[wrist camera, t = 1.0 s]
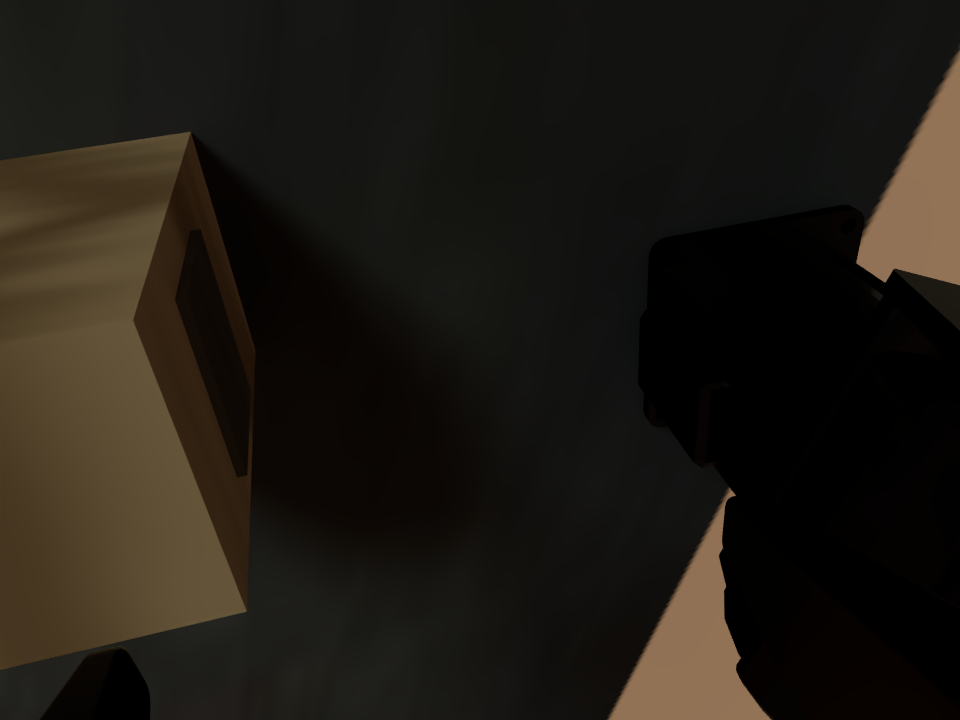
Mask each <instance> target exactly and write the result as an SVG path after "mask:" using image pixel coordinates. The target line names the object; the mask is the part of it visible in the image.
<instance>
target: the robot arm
mask: <svg viewBox="0 0 960 720" xmlns="http://www.w3.org/2000/svg"><path fill="white" fill-rule="evenodd" d="M846 219H848V221H847V223H846V225H845V226H844V227H842V228H840V227H841V225H842V223H843V222H844V221H845V220H846ZM863 226H864V216H863V214H862V212H860V211H858V210H857V209H855V208H853V207H851V206H850V205H840V206H834V207H829V208H823V209H818V210H813V211H807V212H802V213H796V214H791V215H785V216H780V217H775V218H769V219H764V220H758V221H753V222H747V223H742V224H737V225H731V226H726V227H720V228H715V229H709V230H704V231H699V232H693V233H688V234H682V235H677V236H671V237H666V238H663V239H661V240H659V241H658V242H656V243H655V244H654V245H653V247H652V248H651V250H650V254H649V266H648V295H647V310H645V311H644V313H643V315H642V316H641V318H640V336H639V370H638V384H639V386H640V388H641V389H642V391H643V392H644V409H643V411H644V415H645V416H646V418H647V419H648V421H649V422H650V423H651V424H652V425H653V426H656V427H663V426H668V427H669V429H670V430H671V431H672V433H673V434H674V436H675V437H676V439H677V440H678V441H679V443H680V444H681V446H682V447H683V448H684V450H685V451H686V453H687V454H688V455H689V457H690V458H691V460H692V461H693V462H694V463H696V464H697V465H699V466H700V467H706V466H711V465H714V467H715V468H716V469H717V471H718V472H719V473H720V475H721V476H722V477H723V479H724V480H725V482H726V483H727V484H728V486H729V487H730V488H731V490H732V491H733V492H734V494H735V495H736V496H733V497H731V498H729V499H728V500H727V502H726V505H725V514H724V525H723V535H722V544H723V549H722V551H721V552H720V554H719V559H720V563H721V567H722V570H723V575H724V579H725V583H726V588H725V590H724V610H725V611H724V612H725V613H724V614H725V621H726V623H727V626H728V628H729V631H730V633H731V636H732V639H733V641H734V644H735V646H736V649H737V652H738V654H739V655H740V657H741V659H740V660H739V662H738V663H737V666H736V671H737V673H738V675H739V678H740V679H741V681H742V683H743V685H744V686H745V687H746V688H747V690H748V691H749V693H750V694H751V695H752V697H753V698H754V699H755V701H756V702H757V704H758V705H759V706H760V708H761V709H762V710H763V711H764V712H765V713H766V714H767V715H768V716H769V718H770V719H771V720H960V285H956V284H952V283H948V282H945V281H940V280H937V279H933V278H929V277H925V276H921V275H918V274H913V273H910V272H906V271H902V270H898V269H894V270H893V271H892V273H891V275H890V276H889V278H888V279H887V281H886V283H885V282H883V281H882V280H880V279H879V278H877V277H876V276H874V275H873V274H871V273H870V272H868V271H867V270H865V269H864V268H862V267H861V266H859V265H858V264H856V261H857V256H858V251H859V246H860V241H861V236H862V231H863ZM671 251H674V253H673V256H672V257H671V258H670V260H668V261H666V262H663V258H664V256H665V255H666V254H667V253H668V252H671ZM657 412H658V414H656V413H657ZM39 720H150V694H149V689H148V686H147V684H146V682H145V680H144V678H143V677H142V675H141V673H140V671H139V670H138V668H137V666H136V664H135V663H134V661H133V659H132V657H131V656H130V654H129V652H128V651H127V650H126V649H125V648H124V647H121V646H117V647H113V648H109V649H104V650H100V651H96V652H93V653H90V654H89V655H87V656H86V657H85V658H84V659H83V660H82V662H81V663H80V664H79V666H78V667H77V668H76V670H75V671H74V672H73V674H72V675H71V677H70V678H69V679H68V681H67V682H66V683H65V685H64V686H63V687H62V689H61V690H60V692H59V693H58V694H57V696H56V697H55V698H54V700H53V701H52V702H51V704H50V705H49V706H48V708H47V709H46V711H45V712H44V713H43V715H42V716H41V717H40V719H39Z"/></svg>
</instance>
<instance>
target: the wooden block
mask: <svg viewBox="0 0 960 720" xmlns="http://www.w3.org/2000/svg"><path fill="white" fill-rule="evenodd" d="M254 380H255V347H254V344H253V341H252V337H251V334H250V330H249V327H248V324H247V320H246V317H245V314H244V310H243V307H242V303H241V300H240V297H239V293H238V290H237V286H236V283H235V280H234V276H233V273H232V270H231V266H230V263H229V259H228V256H227V253H226V249H225V246H224V243H223V239H222V236H221V232H220V229H219V226H218V222H217V219H216V216H215V212H214V209H213V205H212V202H211V199H210V195H209V192H208V189H207V185H206V182H205V178H204V175H203V172H202V168H201V165H200V162H199V158H198V155H197V151H196V148H195V145H194V141H193V138H192V135H191V132H187V133H180V134H174V135H167V136H160V137H154V138H147V139H140V140H134V141H127V142H120V143H114V144H107V145H101V146H94V147H87V148H81V149H74V150H67V151H61V152H54V153H47V154H41V155H34V156H28V157H21V158H14V159H8V160H1V161H0V670H1V669H6V668H10V667H14V666H18V665H22V664H27V663H31V662H35V661H39V660H44V659H48V658H52V657H56V656H61V655H65V654H69V653H73V652H78V651H82V650H86V649H90V648H94V647H99V646H103V645H107V644H111V643H116V642H120V641H124V640H128V639H133V638H137V637H141V636H145V635H149V634H154V633H158V632H162V631H166V630H171V629H175V628H179V627H183V626H188V625H192V624H196V623H200V622H204V621H209V620H213V619H217V618H221V617H226V616H230V615H234V614H238V613H243V612H247V588H248V558H249V529H250V499H251V469H252V439H253V410H254Z"/></svg>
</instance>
